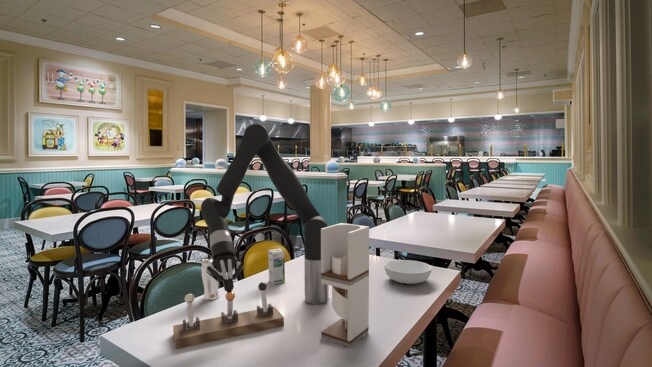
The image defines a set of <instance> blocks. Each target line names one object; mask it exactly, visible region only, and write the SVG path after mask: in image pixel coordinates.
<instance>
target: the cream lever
mask: <svg viewBox="0 0 652 367" xmlns="http://www.w3.org/2000/svg"><path fill="white" fill-rule="evenodd" d="M194 301H195V295H194V294H193V293H187V294H186V295H185V296H184V302H185V303H186V304H187V318H188V321H186V323H187V329H190V328H196V322H195V321H196V319H194V308H193V307H194V306H193V302H194Z"/></svg>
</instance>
